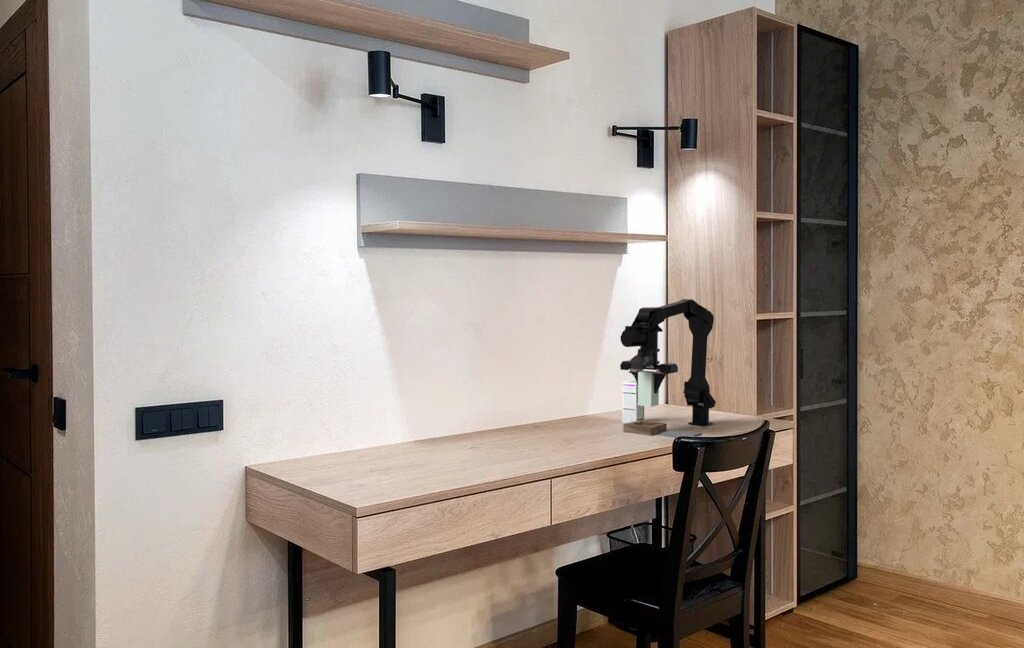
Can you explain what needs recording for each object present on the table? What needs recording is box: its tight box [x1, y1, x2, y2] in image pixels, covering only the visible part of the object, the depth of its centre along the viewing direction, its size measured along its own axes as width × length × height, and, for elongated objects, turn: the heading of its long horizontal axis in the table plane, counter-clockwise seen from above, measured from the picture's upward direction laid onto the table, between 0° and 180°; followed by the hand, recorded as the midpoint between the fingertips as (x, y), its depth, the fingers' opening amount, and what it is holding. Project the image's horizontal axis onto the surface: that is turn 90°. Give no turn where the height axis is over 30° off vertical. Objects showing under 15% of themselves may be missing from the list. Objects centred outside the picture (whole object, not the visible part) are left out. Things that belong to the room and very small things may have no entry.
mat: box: [659, 428, 702, 438], centre depth 276 cm, size 10×10×1 cm
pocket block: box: [622, 420, 668, 436], centre depth 282 cm, size 10×10×2 cm
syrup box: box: [621, 380, 645, 424], centre depth 299 cm, size 6×6×14 cm
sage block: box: [638, 370, 660, 407], centre depth 281 cm, size 5×5×11 cm
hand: (648, 392), depth 281 cm, fingers closed on sage block, 5 cm apart
